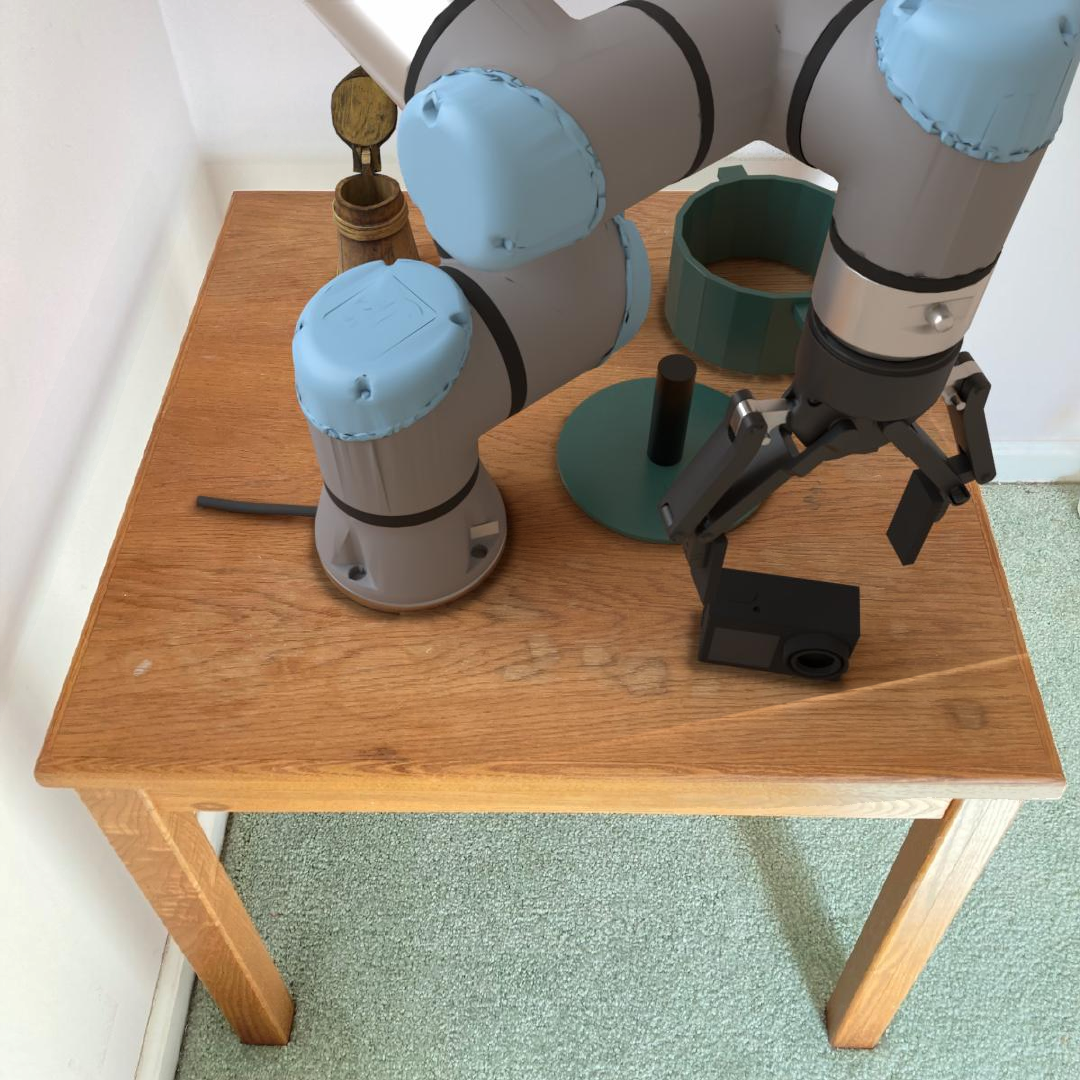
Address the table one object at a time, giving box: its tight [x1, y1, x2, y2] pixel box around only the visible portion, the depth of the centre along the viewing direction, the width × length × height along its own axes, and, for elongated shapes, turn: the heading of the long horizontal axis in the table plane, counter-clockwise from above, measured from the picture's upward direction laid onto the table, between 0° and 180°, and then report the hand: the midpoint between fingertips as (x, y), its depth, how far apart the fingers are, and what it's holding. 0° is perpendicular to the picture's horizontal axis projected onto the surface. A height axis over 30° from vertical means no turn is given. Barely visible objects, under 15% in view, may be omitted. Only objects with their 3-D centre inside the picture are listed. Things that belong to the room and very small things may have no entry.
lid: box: [556, 353, 764, 545], centre depth 83 cm, size 18×18×11 cm
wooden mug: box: [330, 64, 423, 277], centre depth 95 cm, size 9×14×18 cm, turn 3°
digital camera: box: [697, 567, 861, 683], centre depth 74 cm, size 10×5×7 cm, turn 80°
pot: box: [664, 164, 837, 376], centre depth 95 cm, size 17×23×10 cm
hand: (801, 568), depth 67 cm, fingers open, 13 cm apart
